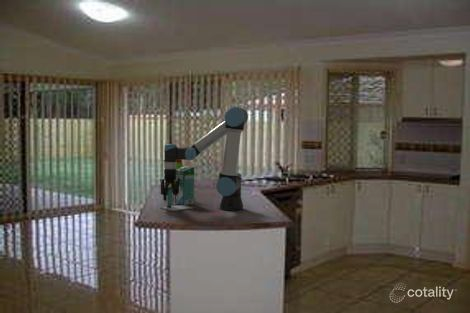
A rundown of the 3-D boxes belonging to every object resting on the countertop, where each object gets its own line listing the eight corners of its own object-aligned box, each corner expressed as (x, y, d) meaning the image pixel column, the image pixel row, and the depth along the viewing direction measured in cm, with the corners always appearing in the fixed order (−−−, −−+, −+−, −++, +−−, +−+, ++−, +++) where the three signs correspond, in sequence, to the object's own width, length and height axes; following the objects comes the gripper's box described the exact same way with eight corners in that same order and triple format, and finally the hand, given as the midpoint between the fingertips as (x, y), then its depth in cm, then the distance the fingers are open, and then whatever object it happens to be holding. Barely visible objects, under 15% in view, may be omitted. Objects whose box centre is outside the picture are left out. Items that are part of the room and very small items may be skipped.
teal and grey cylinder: (169, 206, 323) (169, 186, 323) (173, 207, 321) (173, 187, 320) (164, 207, 321) (165, 187, 320) (168, 207, 318) (168, 187, 317)
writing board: (183, 205, 332) (183, 204, 332) (195, 208, 322) (195, 207, 322) (159, 208, 320) (159, 207, 320) (171, 211, 310) (171, 210, 310)
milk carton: (174, 203, 339) (175, 166, 337) (184, 202, 346) (185, 165, 344) (183, 205, 333) (184, 167, 331) (193, 204, 340) (194, 166, 338)
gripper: (178, 167, 327) (177, 203, 329) (154, 168, 316) (154, 205, 317) (185, 168, 322) (184, 204, 323) (161, 169, 310) (160, 207, 312)
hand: (169, 205), depth 320 cm, fingers open, 5 cm apart
